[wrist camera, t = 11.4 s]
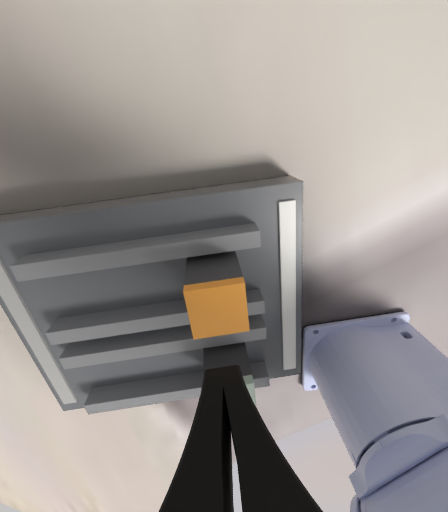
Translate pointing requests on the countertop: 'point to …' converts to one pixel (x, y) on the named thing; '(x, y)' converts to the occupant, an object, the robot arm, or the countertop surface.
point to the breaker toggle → (215, 295)
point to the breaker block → (152, 291)
